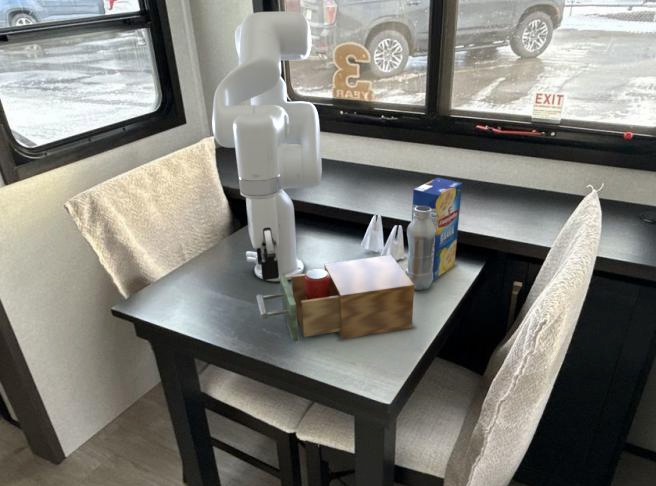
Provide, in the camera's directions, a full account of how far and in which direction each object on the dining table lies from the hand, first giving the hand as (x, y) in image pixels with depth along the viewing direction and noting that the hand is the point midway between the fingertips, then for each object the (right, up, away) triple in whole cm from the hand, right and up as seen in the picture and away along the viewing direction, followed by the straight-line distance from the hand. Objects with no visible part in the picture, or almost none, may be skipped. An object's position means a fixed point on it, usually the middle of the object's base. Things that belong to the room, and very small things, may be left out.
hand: (268, 270), depth 111 cm
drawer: (+7, -11, +8) cm, 16 cm away
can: (+10, -9, +8) cm, 16 cm away
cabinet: (+21, -10, +12) cm, 25 cm away
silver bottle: (+34, -3, +23) cm, 41 cm away
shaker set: (+26, +6, +38) cm, 47 cm away
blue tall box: (+38, +2, +30) cm, 49 cm away
